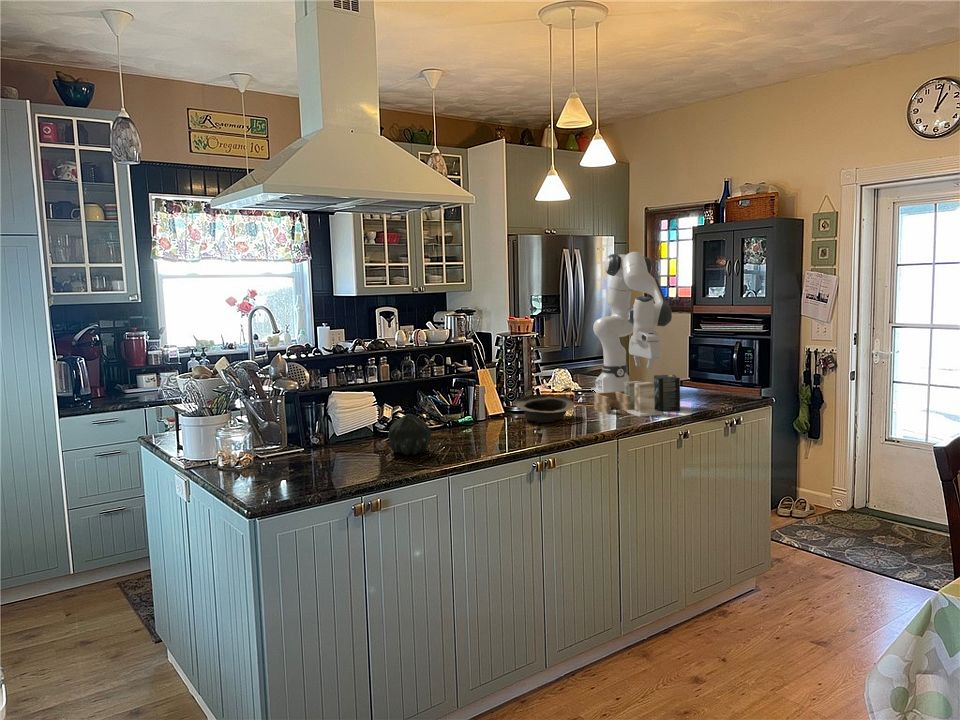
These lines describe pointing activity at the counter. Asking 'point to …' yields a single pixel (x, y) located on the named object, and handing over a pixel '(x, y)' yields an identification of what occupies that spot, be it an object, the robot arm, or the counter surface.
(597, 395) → the shelf
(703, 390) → the counter surface
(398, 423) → the squash
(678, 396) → the tampon box
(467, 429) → the counter surface
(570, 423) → the counter surface
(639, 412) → the tile
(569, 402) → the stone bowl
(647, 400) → the block
